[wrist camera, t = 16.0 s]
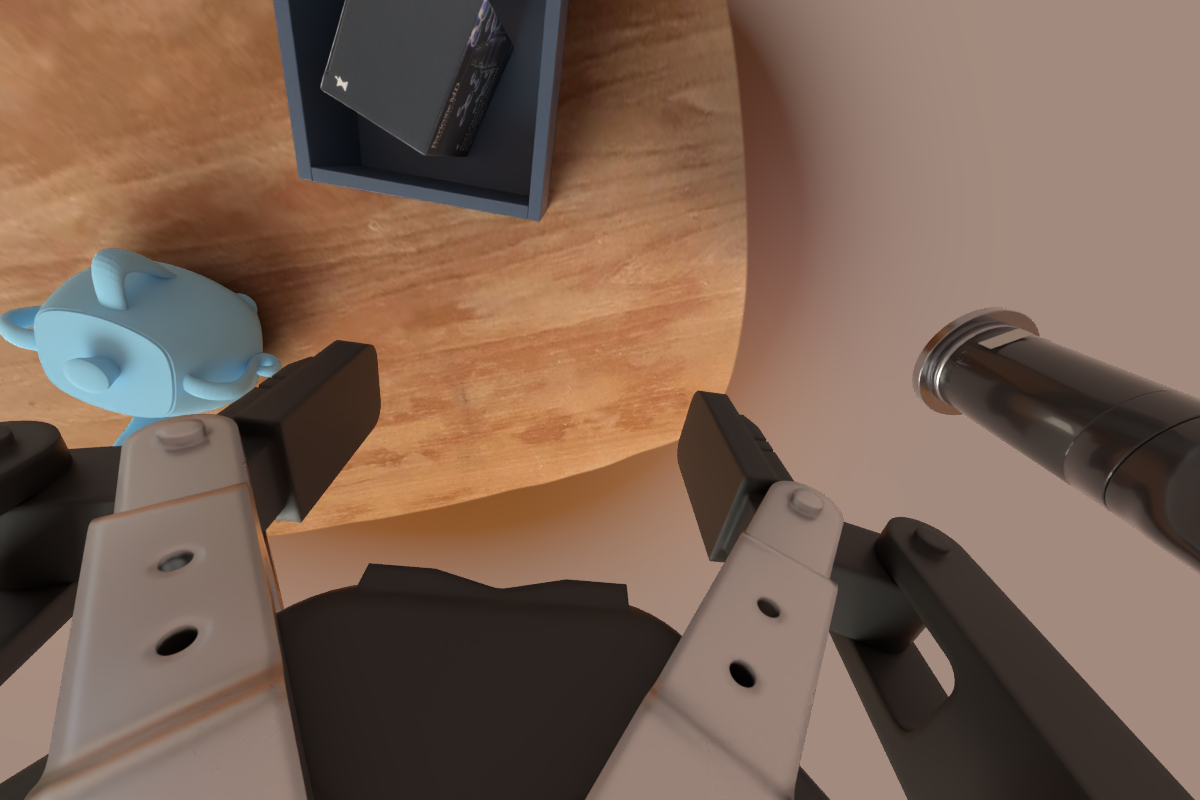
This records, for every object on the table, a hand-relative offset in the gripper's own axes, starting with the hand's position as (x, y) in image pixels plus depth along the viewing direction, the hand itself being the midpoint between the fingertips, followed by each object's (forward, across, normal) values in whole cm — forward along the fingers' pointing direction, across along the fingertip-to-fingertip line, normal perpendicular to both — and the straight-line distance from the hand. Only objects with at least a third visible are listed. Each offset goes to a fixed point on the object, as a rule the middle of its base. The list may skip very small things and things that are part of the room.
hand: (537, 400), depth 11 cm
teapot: (+28, +30, +13) cm, 43 cm away
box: (+28, +9, -9) cm, 30 cm away
